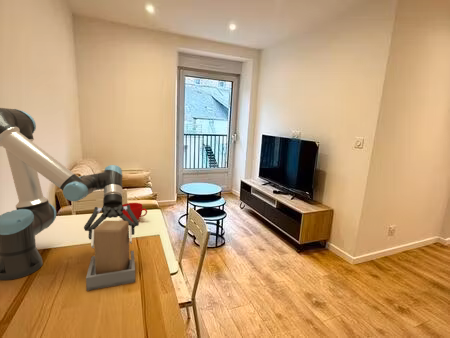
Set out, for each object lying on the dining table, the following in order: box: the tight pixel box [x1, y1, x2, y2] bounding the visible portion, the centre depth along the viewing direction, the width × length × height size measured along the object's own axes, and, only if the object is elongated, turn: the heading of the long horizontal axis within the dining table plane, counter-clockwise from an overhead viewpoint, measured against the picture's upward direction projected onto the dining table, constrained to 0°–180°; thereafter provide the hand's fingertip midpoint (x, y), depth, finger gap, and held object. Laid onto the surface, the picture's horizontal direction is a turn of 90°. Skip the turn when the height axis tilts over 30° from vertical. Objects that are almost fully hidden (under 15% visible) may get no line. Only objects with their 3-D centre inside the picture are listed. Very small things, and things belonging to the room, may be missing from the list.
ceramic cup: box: [122, 202, 148, 223], centre depth 157 cm, size 13×17×10 cm
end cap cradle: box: [85, 250, 136, 292], centre depth 99 cm, size 16×16×5 cm
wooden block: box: [94, 220, 131, 275], centre depth 98 cm, size 10×10×20 cm
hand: (112, 244), depth 97 cm, fingers open, 13 cm apart
